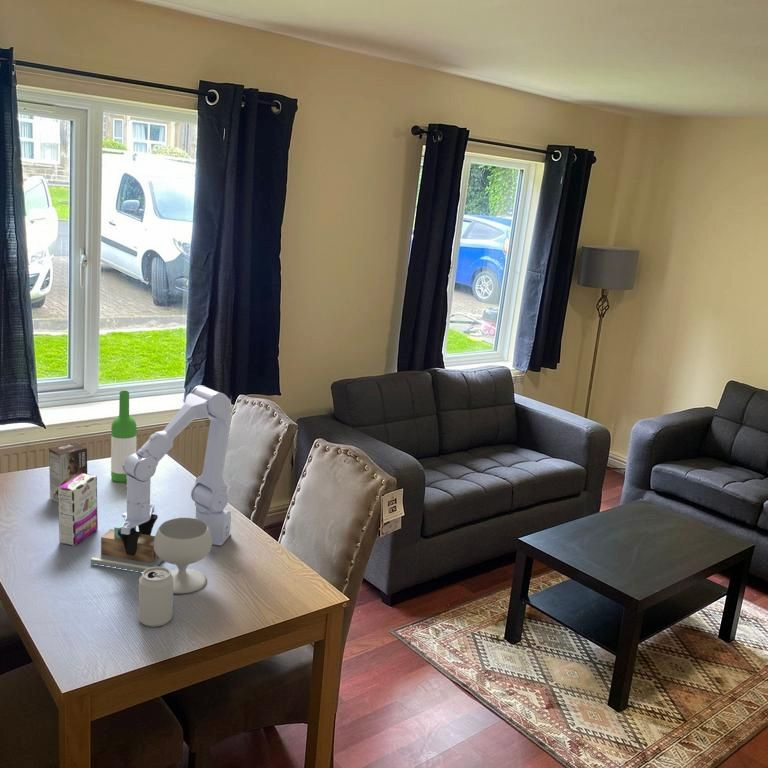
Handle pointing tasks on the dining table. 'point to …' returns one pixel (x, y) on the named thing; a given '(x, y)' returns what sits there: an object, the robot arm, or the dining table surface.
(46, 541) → the dining table surface
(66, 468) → the coffee box
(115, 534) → the teal cube block
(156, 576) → the can
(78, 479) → the candy bar box
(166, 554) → the chalice
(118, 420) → the wine bottle
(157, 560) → the dock
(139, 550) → the tan block
